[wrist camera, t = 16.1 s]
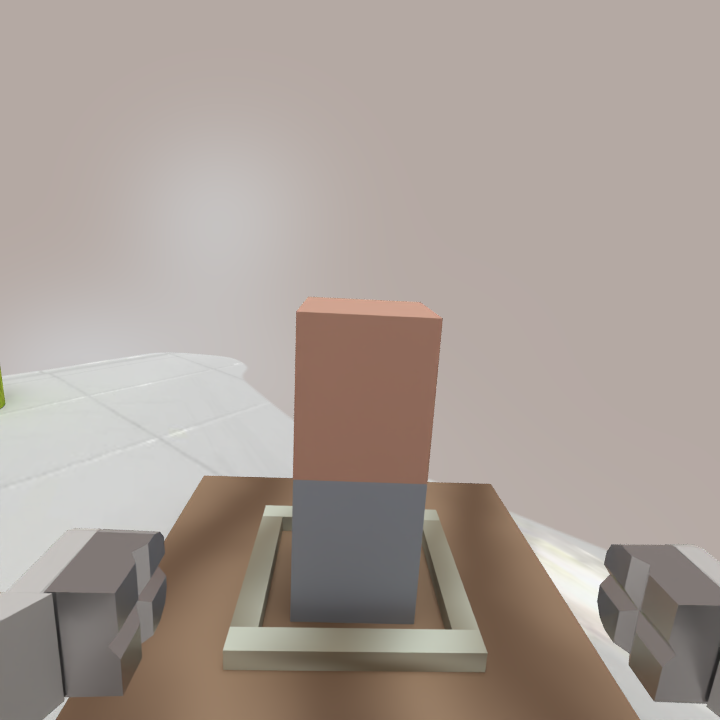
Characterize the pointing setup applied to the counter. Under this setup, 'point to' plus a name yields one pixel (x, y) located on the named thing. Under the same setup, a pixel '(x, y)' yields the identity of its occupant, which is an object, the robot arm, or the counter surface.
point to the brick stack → (361, 457)
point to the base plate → (358, 626)
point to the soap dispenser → (1, 392)
